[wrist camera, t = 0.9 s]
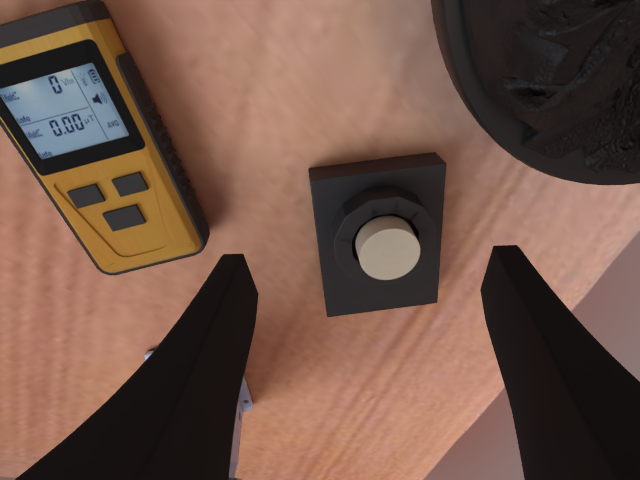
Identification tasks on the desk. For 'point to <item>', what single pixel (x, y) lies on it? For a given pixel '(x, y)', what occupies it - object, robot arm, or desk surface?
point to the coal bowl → (550, 81)
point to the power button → (387, 247)
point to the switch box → (366, 204)
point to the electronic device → (96, 139)
